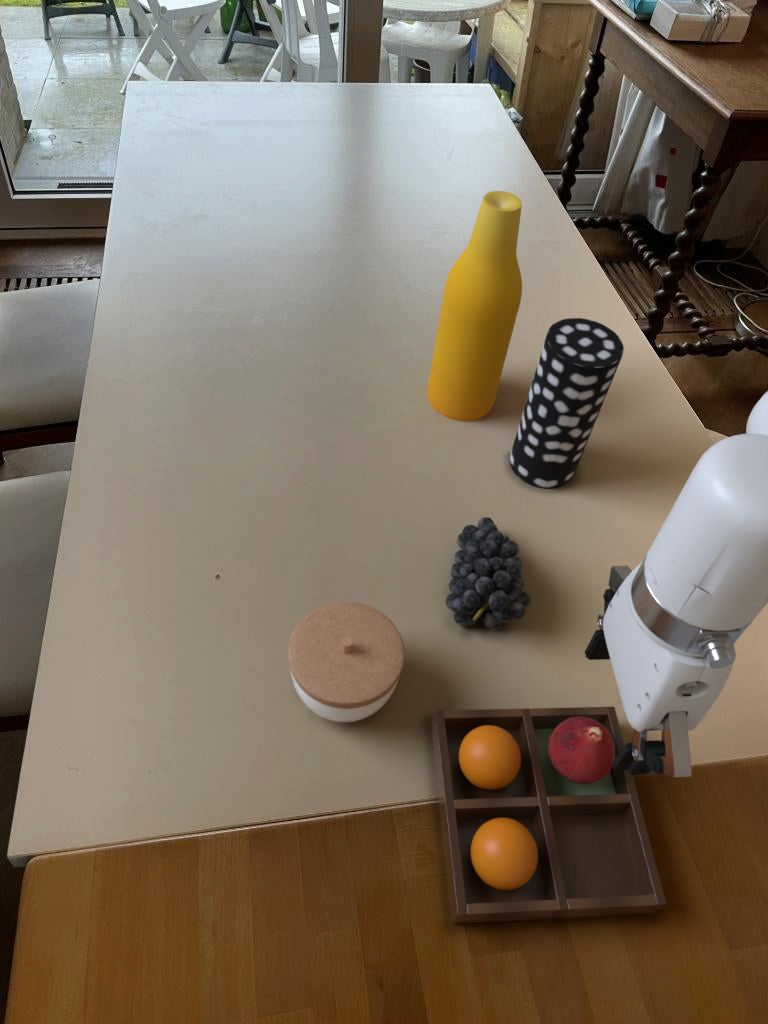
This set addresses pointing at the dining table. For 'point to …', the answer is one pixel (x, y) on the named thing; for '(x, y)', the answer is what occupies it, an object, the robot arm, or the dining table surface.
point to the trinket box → (345, 660)
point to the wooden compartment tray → (545, 825)
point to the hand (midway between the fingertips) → (616, 708)
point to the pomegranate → (581, 750)
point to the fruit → (486, 578)
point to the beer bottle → (478, 314)
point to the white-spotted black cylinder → (564, 401)
